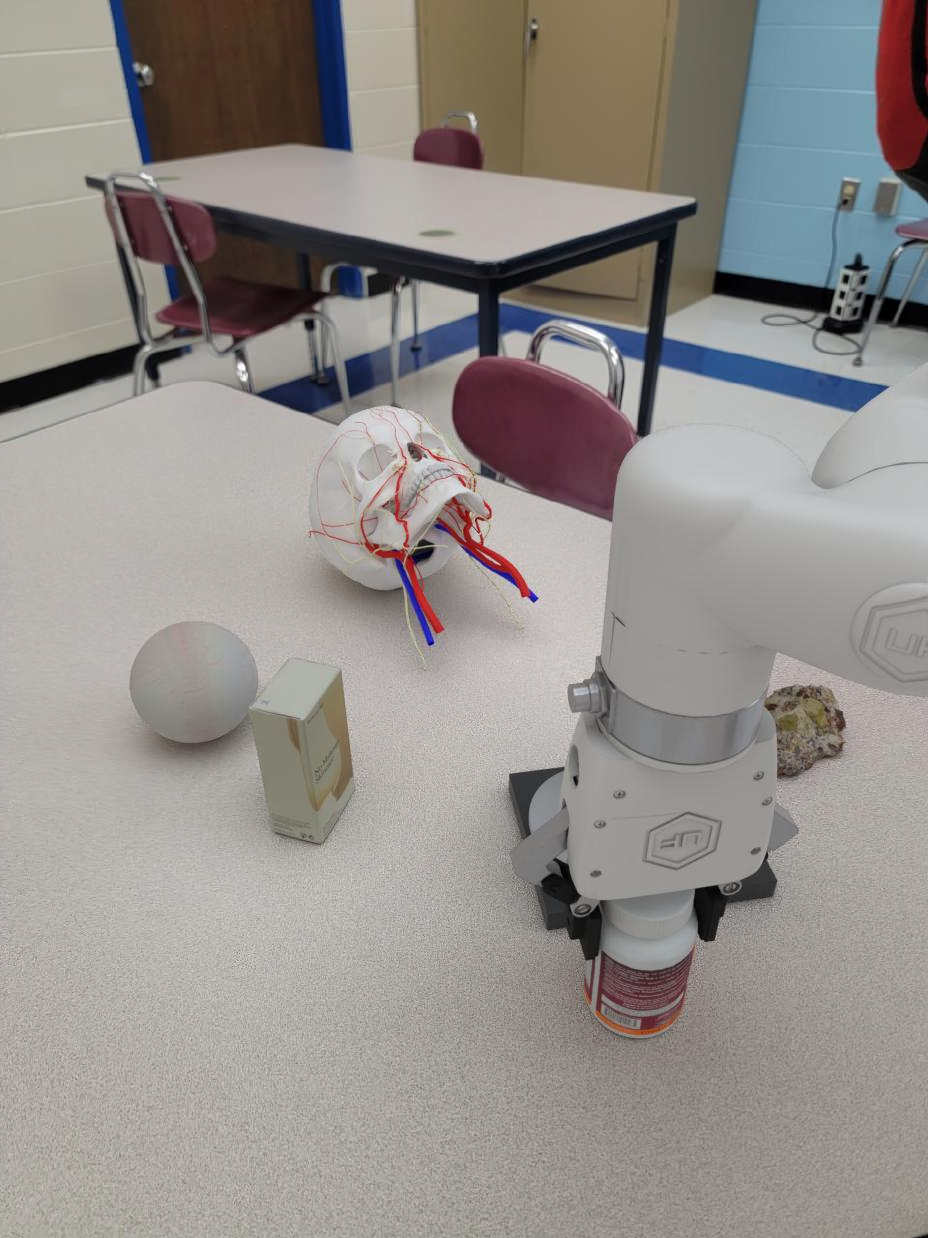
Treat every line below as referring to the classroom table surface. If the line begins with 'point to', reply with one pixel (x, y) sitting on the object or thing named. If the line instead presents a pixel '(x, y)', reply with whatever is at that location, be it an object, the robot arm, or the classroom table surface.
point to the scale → (554, 910)
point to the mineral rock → (805, 726)
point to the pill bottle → (642, 962)
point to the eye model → (193, 681)
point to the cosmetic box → (303, 748)
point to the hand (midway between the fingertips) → (642, 927)
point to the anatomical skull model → (399, 508)
